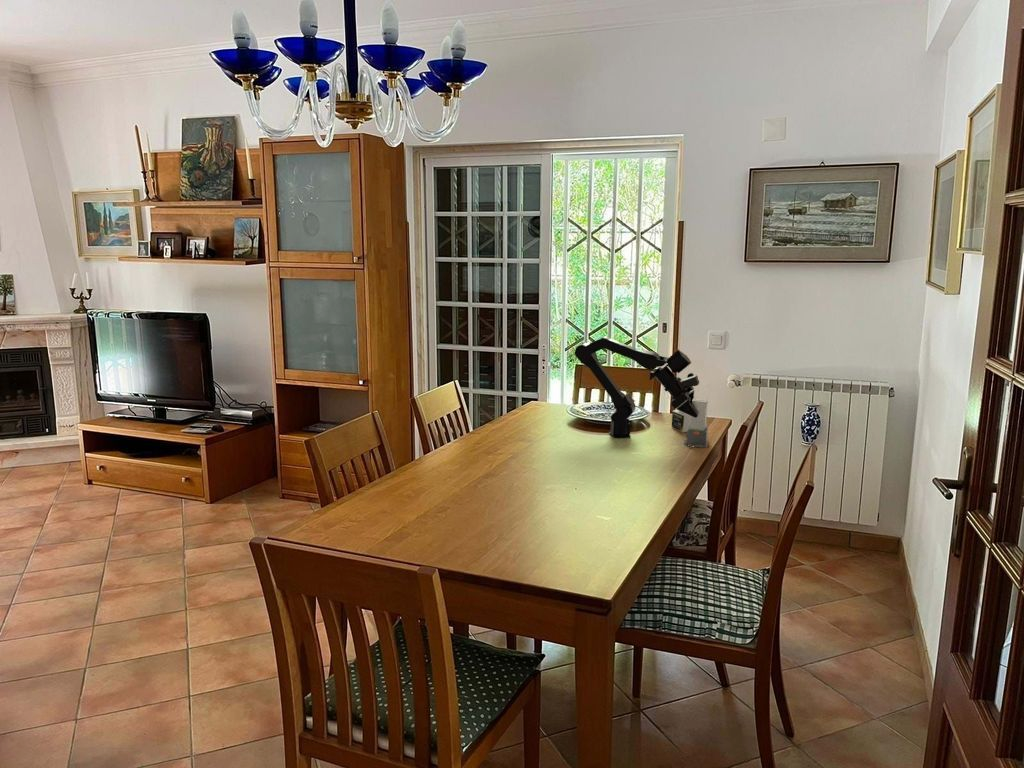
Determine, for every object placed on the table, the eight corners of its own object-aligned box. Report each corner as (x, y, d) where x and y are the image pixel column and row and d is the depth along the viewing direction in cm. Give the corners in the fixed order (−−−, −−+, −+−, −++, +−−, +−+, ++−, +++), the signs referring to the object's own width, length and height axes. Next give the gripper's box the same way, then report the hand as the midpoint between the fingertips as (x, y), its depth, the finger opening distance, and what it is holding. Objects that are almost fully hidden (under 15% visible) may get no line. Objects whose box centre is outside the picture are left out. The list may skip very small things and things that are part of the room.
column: (689, 433, 266) (691, 400, 263) (691, 429, 270) (693, 397, 268) (704, 434, 264) (706, 402, 261) (705, 431, 269) (708, 399, 266)
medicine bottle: (671, 428, 289) (673, 398, 286) (685, 426, 292) (687, 396, 289) (682, 432, 283) (684, 402, 280) (697, 431, 286) (699, 400, 283)
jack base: (682, 446, 266) (683, 430, 264) (685, 439, 274) (686, 424, 273) (708, 449, 263) (709, 433, 261) (710, 442, 271) (711, 427, 270)
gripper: (683, 371, 255) (713, 406, 254) (689, 362, 273) (718, 394, 271) (658, 391, 260) (688, 425, 258) (666, 381, 277) (694, 413, 276)
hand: (698, 414), depth 266 cm, fingers open, 9 cm apart
